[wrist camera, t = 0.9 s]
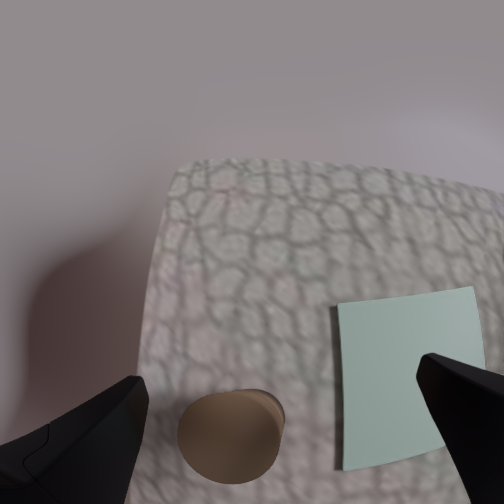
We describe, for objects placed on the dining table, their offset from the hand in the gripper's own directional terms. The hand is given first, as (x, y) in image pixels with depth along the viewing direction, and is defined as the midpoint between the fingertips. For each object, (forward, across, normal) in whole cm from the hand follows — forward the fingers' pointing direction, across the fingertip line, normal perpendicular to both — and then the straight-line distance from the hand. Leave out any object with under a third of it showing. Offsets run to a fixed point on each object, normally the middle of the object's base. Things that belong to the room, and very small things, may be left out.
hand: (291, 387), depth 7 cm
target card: (+9, -13, +9) cm, 18 cm away
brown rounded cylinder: (+9, +1, +11) cm, 14 cm away
